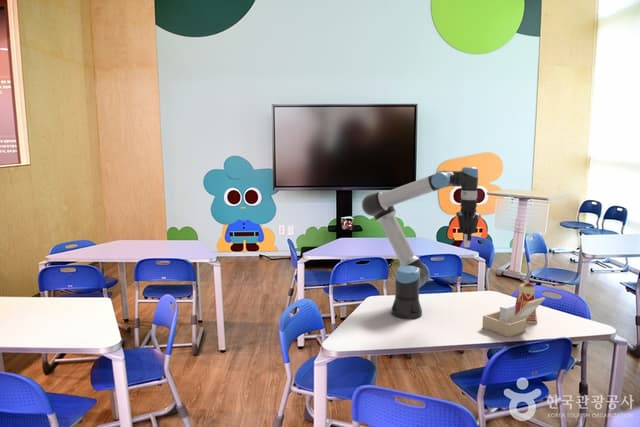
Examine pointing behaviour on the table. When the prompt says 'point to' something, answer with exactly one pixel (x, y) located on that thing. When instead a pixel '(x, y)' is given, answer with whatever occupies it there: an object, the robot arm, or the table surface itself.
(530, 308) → the lid
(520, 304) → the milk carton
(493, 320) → the box
